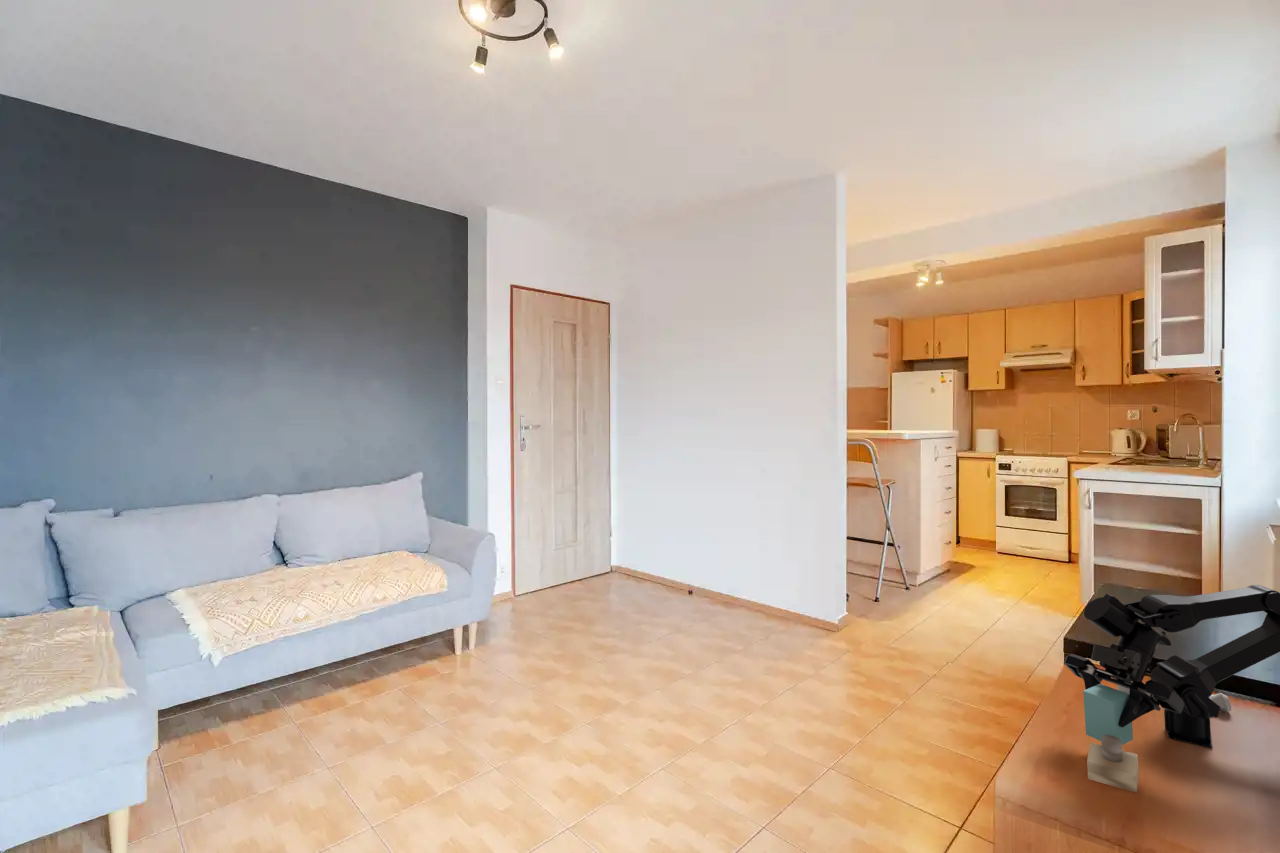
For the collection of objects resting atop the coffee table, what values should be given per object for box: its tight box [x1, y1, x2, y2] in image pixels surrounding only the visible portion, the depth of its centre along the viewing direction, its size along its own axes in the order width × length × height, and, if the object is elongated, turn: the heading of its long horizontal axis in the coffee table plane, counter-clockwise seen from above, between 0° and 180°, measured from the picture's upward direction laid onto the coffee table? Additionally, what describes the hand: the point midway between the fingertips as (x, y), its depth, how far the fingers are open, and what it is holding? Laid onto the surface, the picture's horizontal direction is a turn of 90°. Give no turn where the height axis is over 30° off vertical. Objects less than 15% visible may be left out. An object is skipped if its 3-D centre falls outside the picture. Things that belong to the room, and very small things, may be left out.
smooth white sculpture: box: [1209, 692, 1232, 713], centre depth 130 cm, size 4×8×5 cm
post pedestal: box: [1086, 735, 1139, 794], centre depth 111 cm, size 7×7×7 cm
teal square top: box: [1082, 683, 1134, 746], centre depth 118 cm, size 5×5×9 cm
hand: (1103, 719), depth 117 cm, fingers closed on teal square top, 5 cm apart
